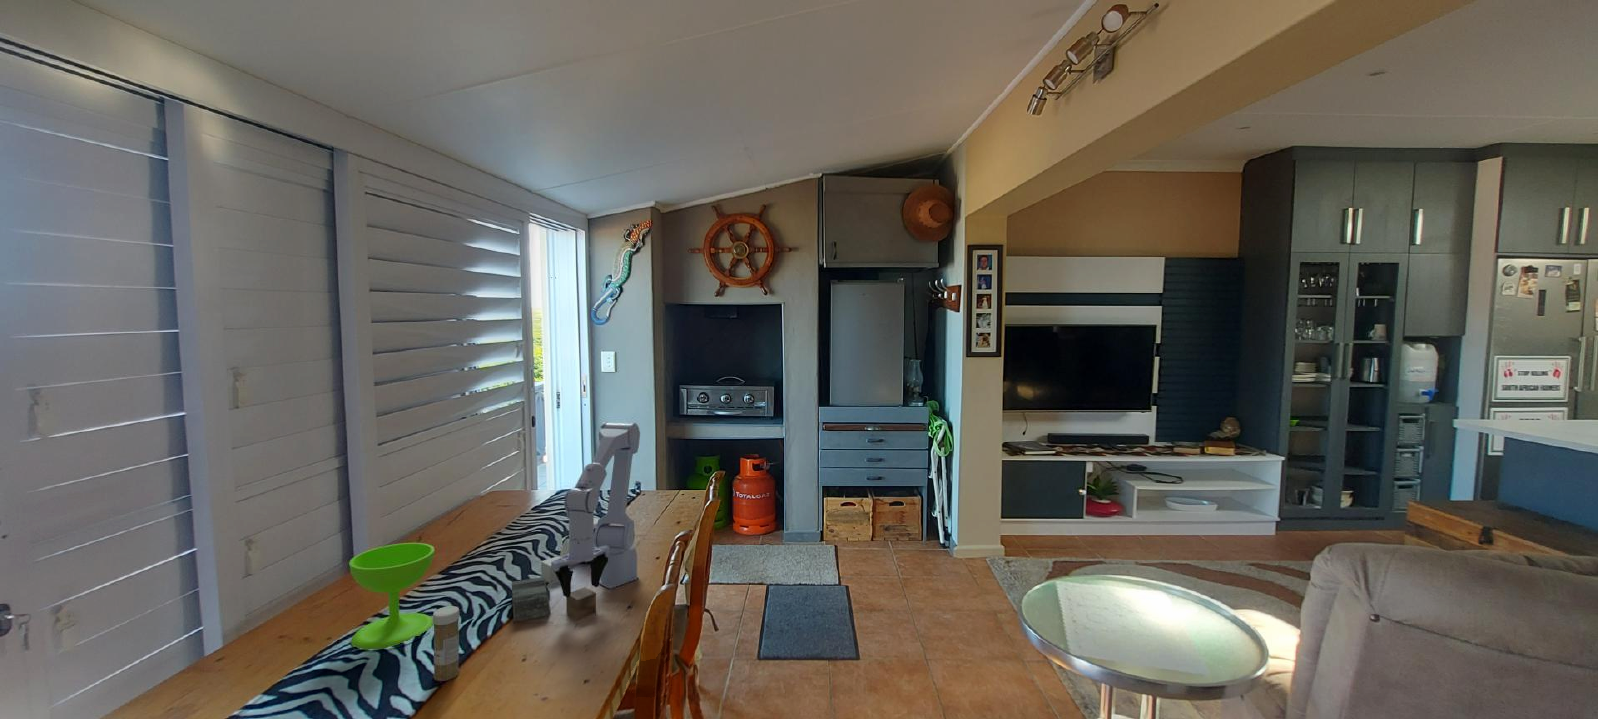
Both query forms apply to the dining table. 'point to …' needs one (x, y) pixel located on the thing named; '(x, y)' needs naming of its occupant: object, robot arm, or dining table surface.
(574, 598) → the walnut cube
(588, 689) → the dining table surface
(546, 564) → the grey cube
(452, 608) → the sprinkles bottle
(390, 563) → the wineglass
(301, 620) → the dining table surface
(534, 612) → the stone block
